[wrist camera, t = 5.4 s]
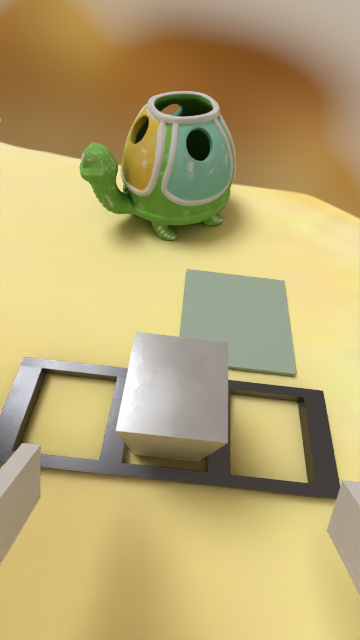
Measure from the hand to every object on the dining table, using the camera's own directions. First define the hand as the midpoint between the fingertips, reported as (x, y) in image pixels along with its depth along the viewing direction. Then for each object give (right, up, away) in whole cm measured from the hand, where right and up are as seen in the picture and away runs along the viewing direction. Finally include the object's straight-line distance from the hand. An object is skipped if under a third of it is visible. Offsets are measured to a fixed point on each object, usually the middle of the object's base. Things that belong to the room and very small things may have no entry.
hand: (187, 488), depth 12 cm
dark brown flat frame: (-1, -1, +11) cm, 11 cm away
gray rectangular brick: (-1, -1, +11) cm, 11 cm away
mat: (+5, +7, +17) cm, 19 cm away
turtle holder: (-2, +22, +25) cm, 33 cm away
